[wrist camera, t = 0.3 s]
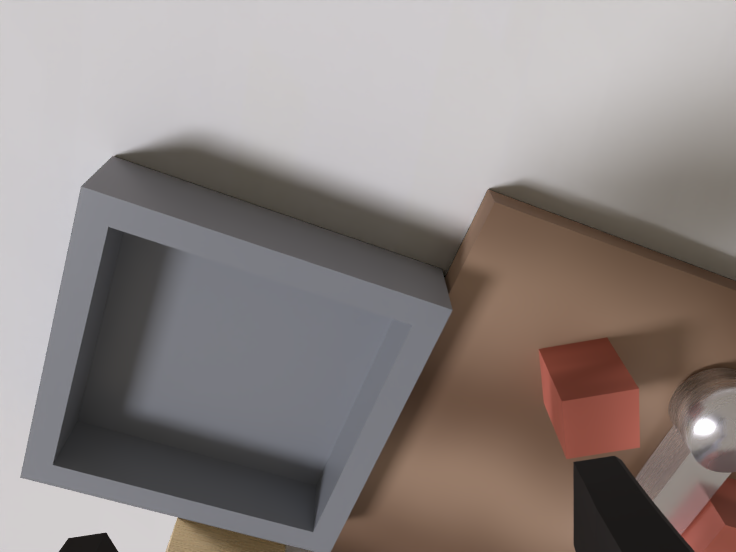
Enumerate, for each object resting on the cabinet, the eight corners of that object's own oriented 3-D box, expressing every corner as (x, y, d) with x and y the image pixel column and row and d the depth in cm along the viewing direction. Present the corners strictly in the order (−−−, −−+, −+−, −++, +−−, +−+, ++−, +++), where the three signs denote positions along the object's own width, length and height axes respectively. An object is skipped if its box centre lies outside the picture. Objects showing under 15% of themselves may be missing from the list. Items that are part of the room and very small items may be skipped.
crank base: (609, 608, 27) (643, 698, 24) (320, 533, 25) (315, 621, 22) (839, 319, 21) (924, 387, 18) (488, 189, 19) (514, 240, 16)
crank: (616, 581, 24) (679, 737, 20) (551, 564, 24) (600, 720, 19) (772, 382, 21) (897, 517, 16) (699, 357, 20) (805, 488, 15)
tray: (330, 499, 24) (328, 555, 22) (51, 424, 22) (20, 477, 20) (441, 268, 20) (452, 309, 18) (112, 155, 18) (81, 186, 16)
